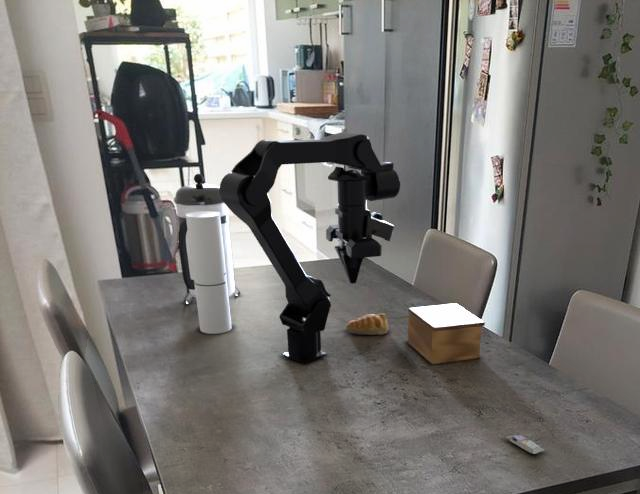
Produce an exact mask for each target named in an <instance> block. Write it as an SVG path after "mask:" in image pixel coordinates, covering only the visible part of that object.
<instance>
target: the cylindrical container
mask: <svg viewBox="0 0 640 494" xmlns="http://www.w3.org/2000/svg"><path fill="white" fill-rule="evenodd" d="M186 221H187V229H188V237H189V245H190V253H191V261H192V269H193V277H194V285H195V292H196V298H195V300H196V309H197V315H198V323H199V324H198V325H199V330H200V332H201V333H204V334H209V335H219V334H224V333H227V332H229V331H231V330H232V319H231V309H230V298H229V297H230V296H228V288H227V278H226V268H225V258H224V248H223V238H222V229H221V219H220V213H218V212H213V211H199V212H191V213H188V214H186Z"/></svg>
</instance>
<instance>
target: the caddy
mask: <svg viewBox="0 0 640 494" xmlns="http://www.w3.org/2000/svg"><path fill="white" fill-rule="evenodd" d="M407 313H408V314H407V315H408V316H407V344H408V345H410V346H411V347H412V348H413V349H414V350H415V351H416V352H418V353H419V354H420V355H421V356H422V357H424V358H425V359H426V360H427V361H428V362H429V363H430V364H432V365H437V364H444V363H445V364H446V363H453V362H459V361H466V360H474V359H479V358H480V352H481V351H480V350H481V340H482V339H481V338H482V330H483V329H482V328H483V326H479V327H470V328H461V329H452V330H443V331H433V330H431V329H430V328H429V327H428V326H426V325H425V324H424V323H422V322H421V321H420V320H419V319H417V318H416V317H415V316H413V315H412V314H411V313H410V312H407Z"/></svg>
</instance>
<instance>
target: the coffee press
mask: <svg viewBox="0 0 640 494" xmlns="http://www.w3.org/2000/svg"><path fill="white" fill-rule="evenodd" d="M193 180H194V182H195V184H188V185H183V186H181V187H180V188H178V189H177V190H176V192H175V195H174V197H173V202H174V204H175V207H176V222H177V225H178V235H177V241H178V250H179V251H178V252H179V258H180V259H179V260H180V265H181V273H182V278H183V282H184V285H185V287H186V288H185V289H186V293H185V295H184V297H183V300H182V301H183V302H184V303H185V304H186V305H189V304H191V303H192V302H193V300H196V292H195V285H194V277H193V269H192V261H191V253H190V245H189V237H188V229H187V221H186V214H188V213H191V212H199V211H213V212H218V213H220V219H221V229H222V238H223V248H224V258H225V268H226V278H227V288H228V297H230V296H231V295H234V296H235V297H240V296H241V291H240V289H238V287H237V286H236V279H235V278H236V277H235V269H234V259H233V247H232V238H231V229H230V228H231V227H230V212H229V210H228V207H227V206H226V204H225V203H224V202H223V201H222V199H221V197H220V195H219V189H220V186H218V185H215V184H210V183H209V184H208V183H203V182H204V180H205V178H204V176H203V175H202V174H201V173H196V174H195V175H194V176H193ZM235 290H236V291H237V294H235V293H234V292H235ZM189 295H190V296H191V297H190V298H189V299H188V297H189ZM187 299H188V301H187Z"/></svg>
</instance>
